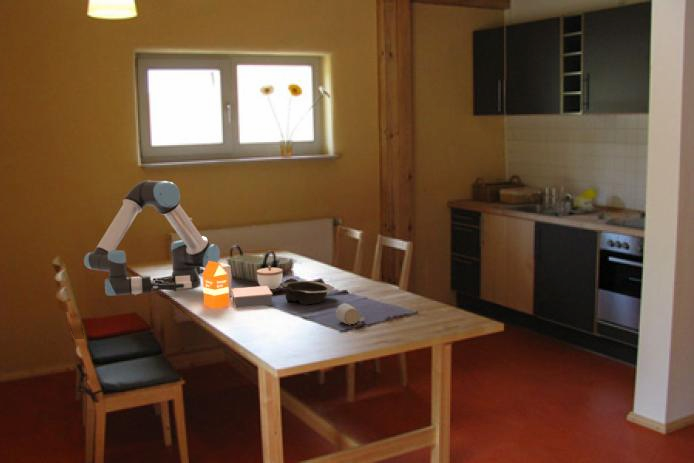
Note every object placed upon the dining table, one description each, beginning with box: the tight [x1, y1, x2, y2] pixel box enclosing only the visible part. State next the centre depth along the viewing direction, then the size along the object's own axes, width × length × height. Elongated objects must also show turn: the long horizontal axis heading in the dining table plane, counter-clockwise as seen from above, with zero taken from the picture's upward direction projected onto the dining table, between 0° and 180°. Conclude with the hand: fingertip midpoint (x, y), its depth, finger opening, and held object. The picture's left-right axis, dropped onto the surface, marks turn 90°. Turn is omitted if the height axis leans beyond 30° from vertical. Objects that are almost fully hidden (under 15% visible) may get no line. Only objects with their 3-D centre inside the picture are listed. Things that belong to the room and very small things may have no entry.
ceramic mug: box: [335, 302, 365, 326], centre depth 325 cm, size 11×8×8 cm
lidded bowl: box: [256, 265, 284, 290], centre depth 390 cm, size 13×13×11 cm
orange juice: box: [201, 261, 230, 309], centre depth 359 cm, size 8×9×20 cm
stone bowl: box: [280, 278, 335, 306], centre depth 364 cm, size 25×25×9 cm
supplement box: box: [219, 262, 233, 298], centre depth 376 cm, size 9×9×15 cm
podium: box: [231, 285, 274, 309], centre depth 365 cm, size 17×17×5 cm
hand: (190, 281), depth 356 cm, fingers open, 13 cm apart
